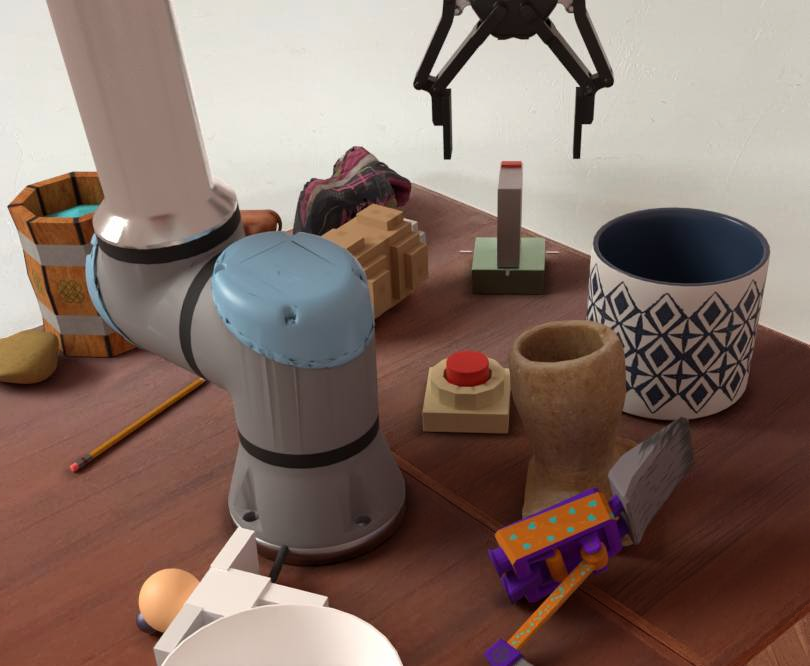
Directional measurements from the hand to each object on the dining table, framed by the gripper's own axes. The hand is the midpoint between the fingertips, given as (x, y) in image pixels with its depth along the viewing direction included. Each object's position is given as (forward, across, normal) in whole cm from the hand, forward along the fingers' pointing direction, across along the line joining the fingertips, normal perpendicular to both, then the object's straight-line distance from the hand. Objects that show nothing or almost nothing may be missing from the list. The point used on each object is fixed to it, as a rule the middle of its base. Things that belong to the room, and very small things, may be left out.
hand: (511, 154), depth 120 cm
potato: (+12, +48, +19) cm, 53 cm away
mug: (+14, +41, +12) cm, 45 cm away
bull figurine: (+14, +33, 0) cm, 36 cm away
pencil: (+14, +34, +31) cm, 48 cm away
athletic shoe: (+10, +25, -11) cm, 29 cm away
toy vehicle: (+7, -6, +49) cm, 50 cm away
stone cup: (+14, -7, +41) cm, 44 cm away
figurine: (+11, +12, +61) cm, 63 cm away
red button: (+10, +3, +27) cm, 29 cm away
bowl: (+14, +12, +73) cm, 75 cm away
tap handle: (+11, 0, 0) cm, 11 cm away
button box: (+14, +3, +27) cm, 31 cm away
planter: (+14, -16, +21) cm, 30 cm away
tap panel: (+14, 0, 0) cm, 14 cm away
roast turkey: (+14, +16, +9) cm, 23 cm away
